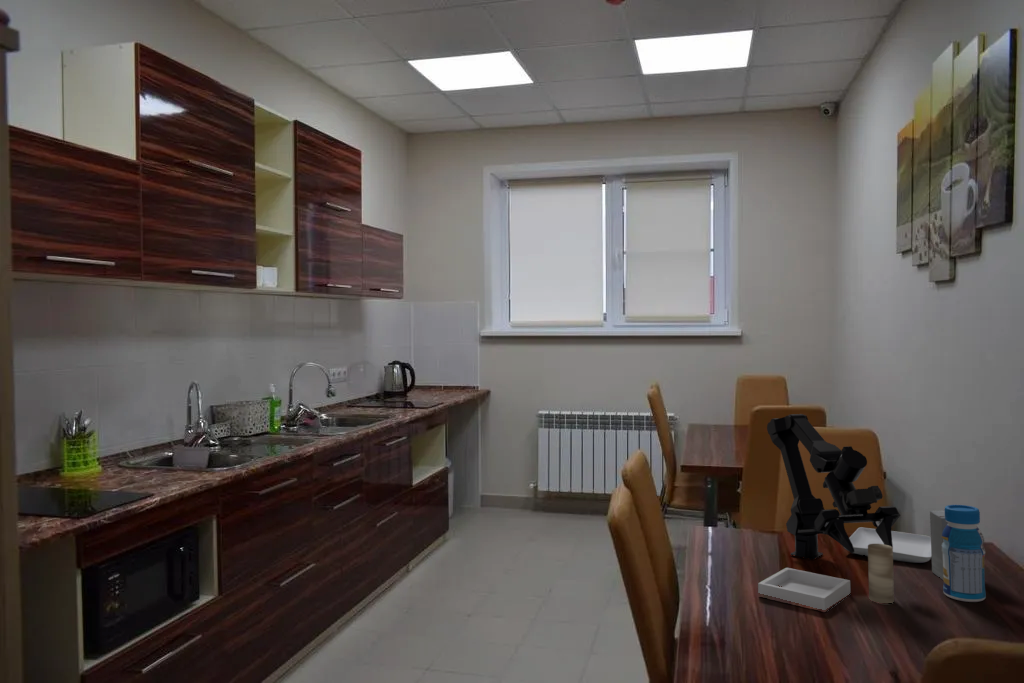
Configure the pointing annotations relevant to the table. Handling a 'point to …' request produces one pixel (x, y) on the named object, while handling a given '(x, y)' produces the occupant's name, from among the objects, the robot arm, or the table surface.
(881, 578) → the birch peg
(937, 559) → the skincare box
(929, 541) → the salad plate
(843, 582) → the grey bin
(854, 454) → the robot arm
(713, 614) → the table surface
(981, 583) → the beverage bottle
